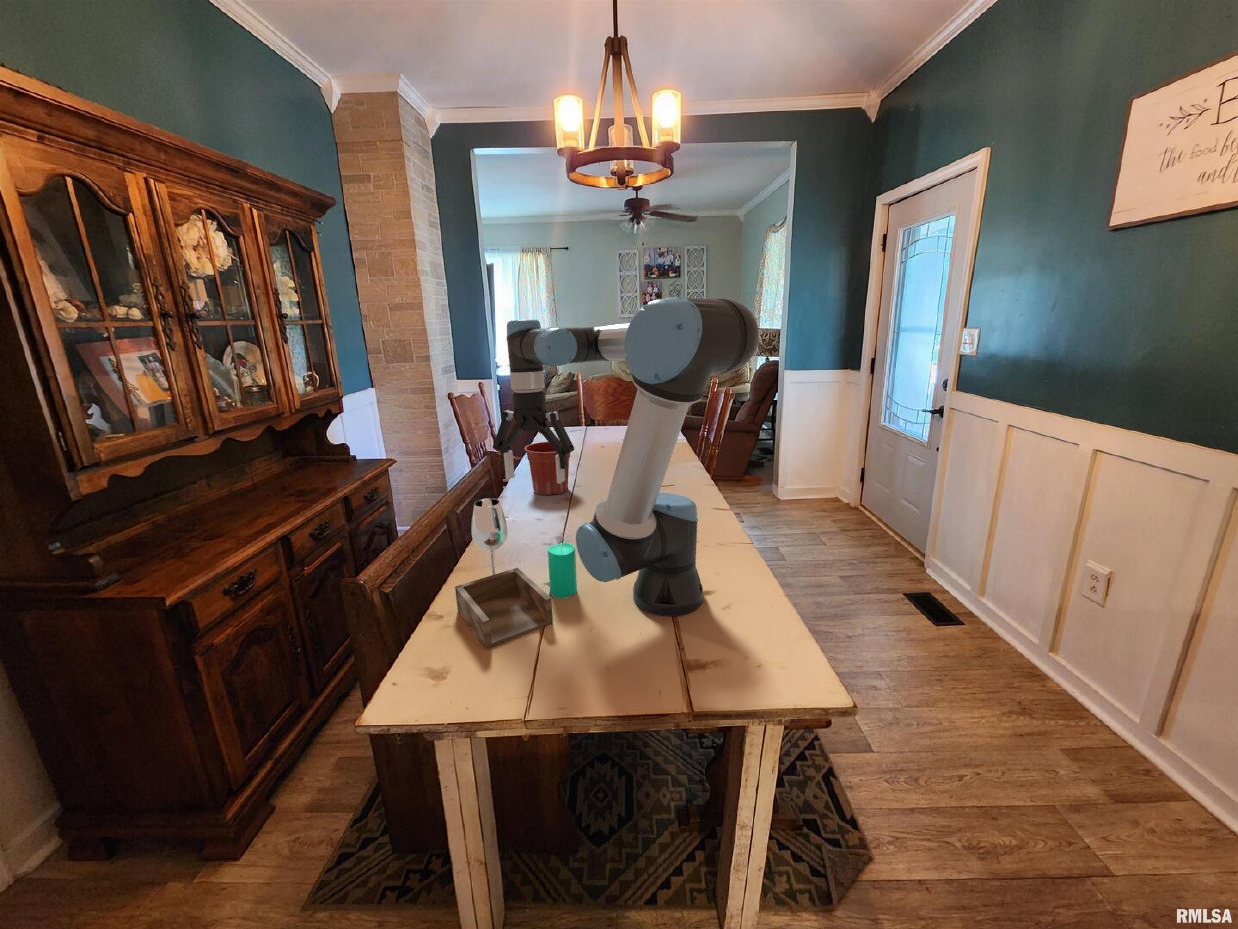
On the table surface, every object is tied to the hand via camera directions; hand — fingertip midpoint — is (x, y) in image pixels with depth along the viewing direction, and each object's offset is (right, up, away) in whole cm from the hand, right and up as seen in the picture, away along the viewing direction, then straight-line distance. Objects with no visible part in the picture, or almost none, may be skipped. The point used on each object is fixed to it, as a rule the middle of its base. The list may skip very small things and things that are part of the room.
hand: (535, 480), depth 122 cm
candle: (+7, -25, -7) cm, 27 cm away
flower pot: (-5, -6, +62) cm, 62 cm away
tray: (-4, -28, -17) cm, 32 cm away
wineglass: (-9, -24, -3) cm, 26 cm away
